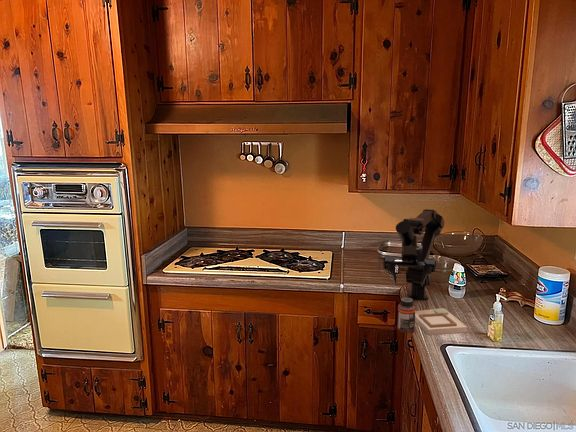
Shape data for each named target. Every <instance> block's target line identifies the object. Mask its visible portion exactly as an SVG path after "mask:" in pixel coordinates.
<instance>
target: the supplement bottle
mask: <svg viewBox="0 0 576 432" xmlns="http://www.w3.org/2000/svg"><path fill="white" fill-rule="evenodd" d="M413 302H414V300H413V299H412V298H411V297H401V299H400V303H399V304H398V305H397V323H396V326H397V330H398V331H399V332H401V333H404V334H408V333H409V334H411V333H413V332H414V331H415V330H416V329H415V328H416V326H415V325H416V322H415V311H416V306H415V305H414V303H413Z"/></svg>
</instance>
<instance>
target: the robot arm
mask: <svg viewBox="0 0 576 432" xmlns="http://www.w3.org/2000/svg"><path fill="white" fill-rule="evenodd" d="M444 227H445V220H444V217H443V216H442V215H441V214H439V213H438V212H437V210H435V209H428V208H425V209H423V210H422V212H421V213H420V214H418V215H416V217H411V218H404V219H402V221H398V223H397V224H396V225H395V231H396V233H397V235H398V238H399V239H400V241H401V254H400V255H401V260H400V259H395V256H391V255H385V256H384V257H383V262H382V263H383V266H382V267H383V269H384V270H386V271H388V272H389V273H390V275H391V277H392V279H393V281H394V282H393V283H394V284H395V285H396V284H397V272H396V266H399V267H400V266H402V267H407V268H406V270H405V280H406V283H407V284H408V283H409V284H410V292H408V293H407V296H409V298H411V299H412V300H413V301H414V300H428V299H429V296H426V287H427V286H431V276H430V275H431V274H432V273H435V272H436V268H437V260H436V259H435V258H429V257H430V254H431V251H432V248H433V244H434V241H435V238H436V237H438V236H439V235H440V234H441V232H442V230H443V229H444ZM417 235H418V236H422V235H423V236H422V239H421V243H420V244H418V237H417Z"/></svg>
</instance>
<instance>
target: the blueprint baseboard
mask: <svg viewBox="0 0 576 432" xmlns="http://www.w3.org/2000/svg"><path fill="white" fill-rule="evenodd" d="M415 324H417V325H418V326H419V328H421V330H423V331H424V332H425V333H426V334H427V336H433V335H435V336H436V335H446V334H461V333H462V334H464V333H467V332H468V326H467V325H466V324H465V323H463V322H462V321H460V320H459V319H458V318H457V317H456V316H455V315H453V314H452V313H451V312H450V311H448V310H447V308H443V307H442V308H433V309H422V310H421V309H420V310H415Z"/></svg>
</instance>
